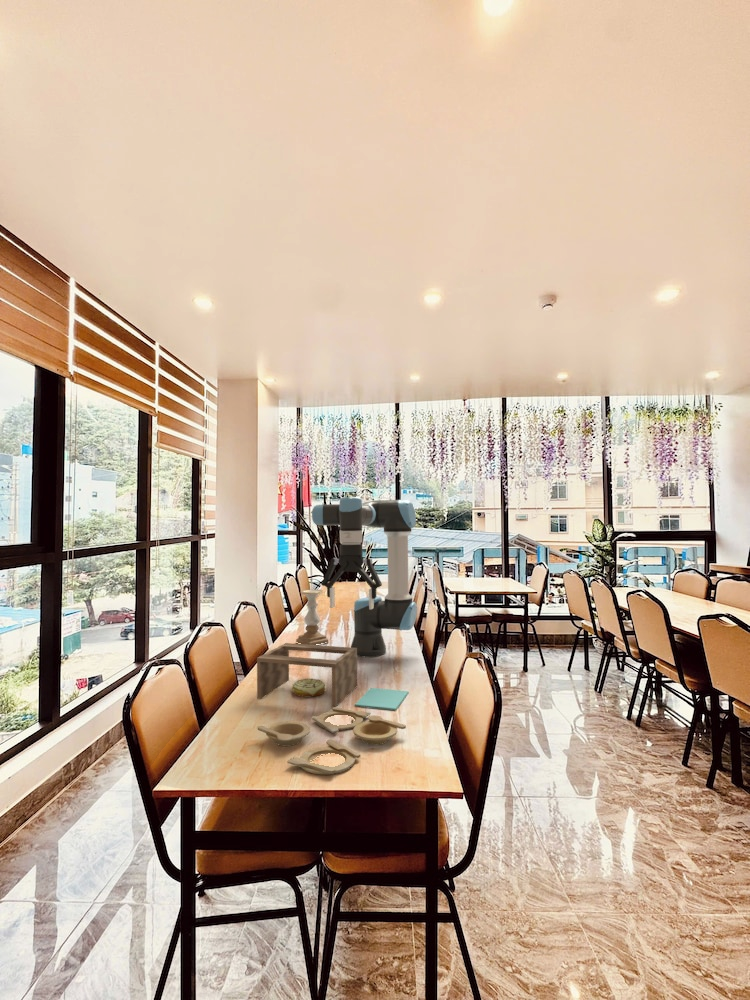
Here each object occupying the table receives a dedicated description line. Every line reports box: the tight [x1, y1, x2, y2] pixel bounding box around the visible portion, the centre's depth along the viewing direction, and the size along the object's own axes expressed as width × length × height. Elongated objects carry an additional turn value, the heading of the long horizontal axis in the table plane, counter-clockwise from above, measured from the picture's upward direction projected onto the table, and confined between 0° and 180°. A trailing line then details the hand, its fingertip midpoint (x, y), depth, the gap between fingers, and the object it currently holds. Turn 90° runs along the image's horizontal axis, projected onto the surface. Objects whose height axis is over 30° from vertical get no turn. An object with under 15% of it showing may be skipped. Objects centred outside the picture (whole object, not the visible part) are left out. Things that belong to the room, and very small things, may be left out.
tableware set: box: [256, 706, 407, 775], centre depth 136 cm, size 35×29×4 cm
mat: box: [354, 687, 409, 711], centre depth 165 cm, size 16×13×1 cm
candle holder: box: [295, 589, 329, 645], centre depth 240 cm, size 11×11×24 cm
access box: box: [256, 642, 358, 707], centre depth 173 cm, size 20×27×13 cm
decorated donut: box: [291, 678, 326, 698], centre depth 173 cm, size 10×11×4 cm
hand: (351, 608), depth 172 cm, fingers open, 13 cm apart
